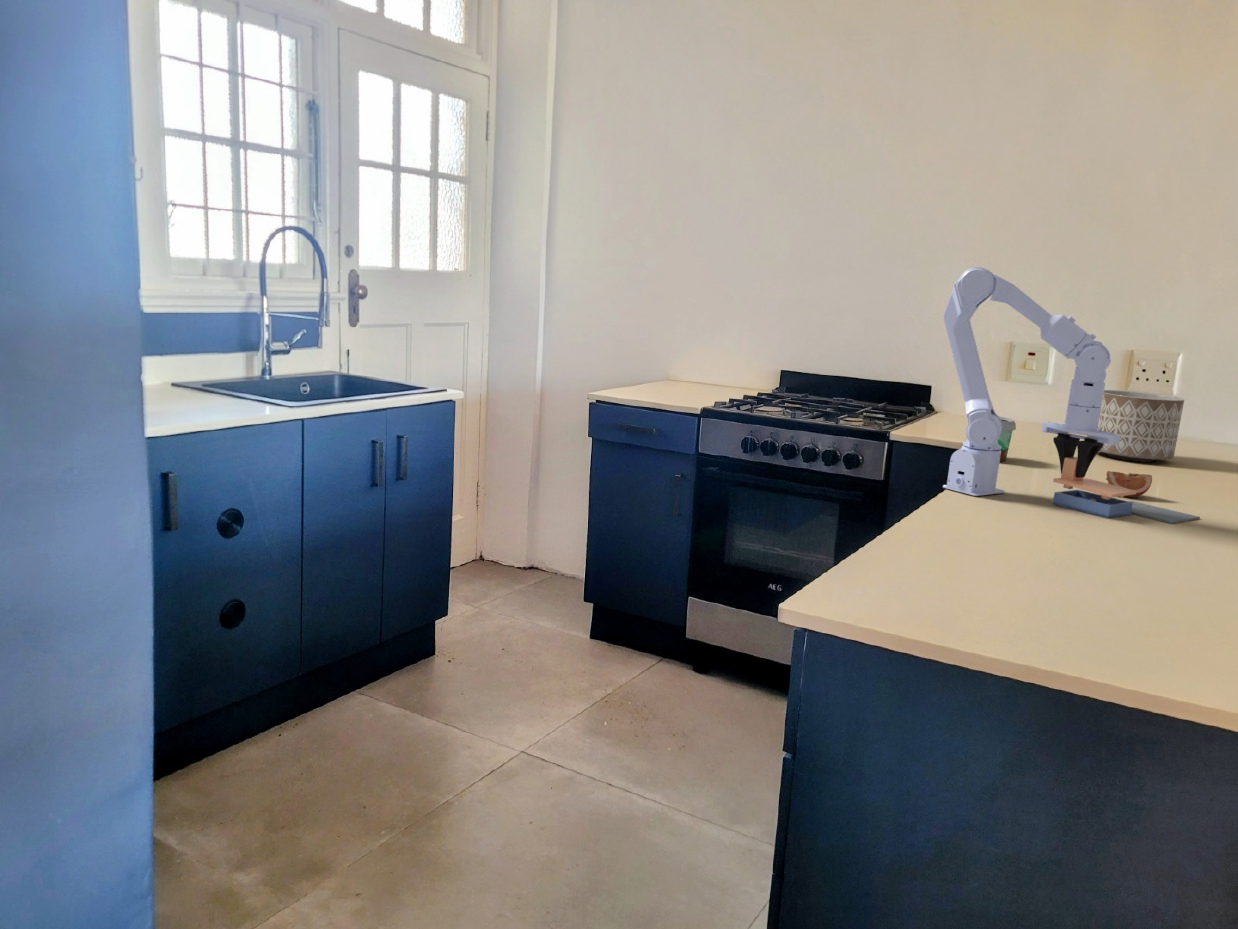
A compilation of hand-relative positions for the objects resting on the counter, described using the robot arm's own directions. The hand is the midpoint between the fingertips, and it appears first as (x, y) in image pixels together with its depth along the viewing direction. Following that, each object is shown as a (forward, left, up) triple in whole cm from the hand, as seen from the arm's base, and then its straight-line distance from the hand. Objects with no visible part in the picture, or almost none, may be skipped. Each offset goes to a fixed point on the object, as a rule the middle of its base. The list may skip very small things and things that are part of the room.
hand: (1072, 475), depth 181 cm
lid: (0, -5, -1) cm, 5 cm away
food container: (+29, +36, -6) cm, 47 cm away
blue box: (0, -5, -6) cm, 7 cm away
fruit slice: (+21, 0, -6) cm, 22 cm away
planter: (+72, +27, -6) cm, 77 cm away
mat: (+10, -11, -6) cm, 16 cm away
